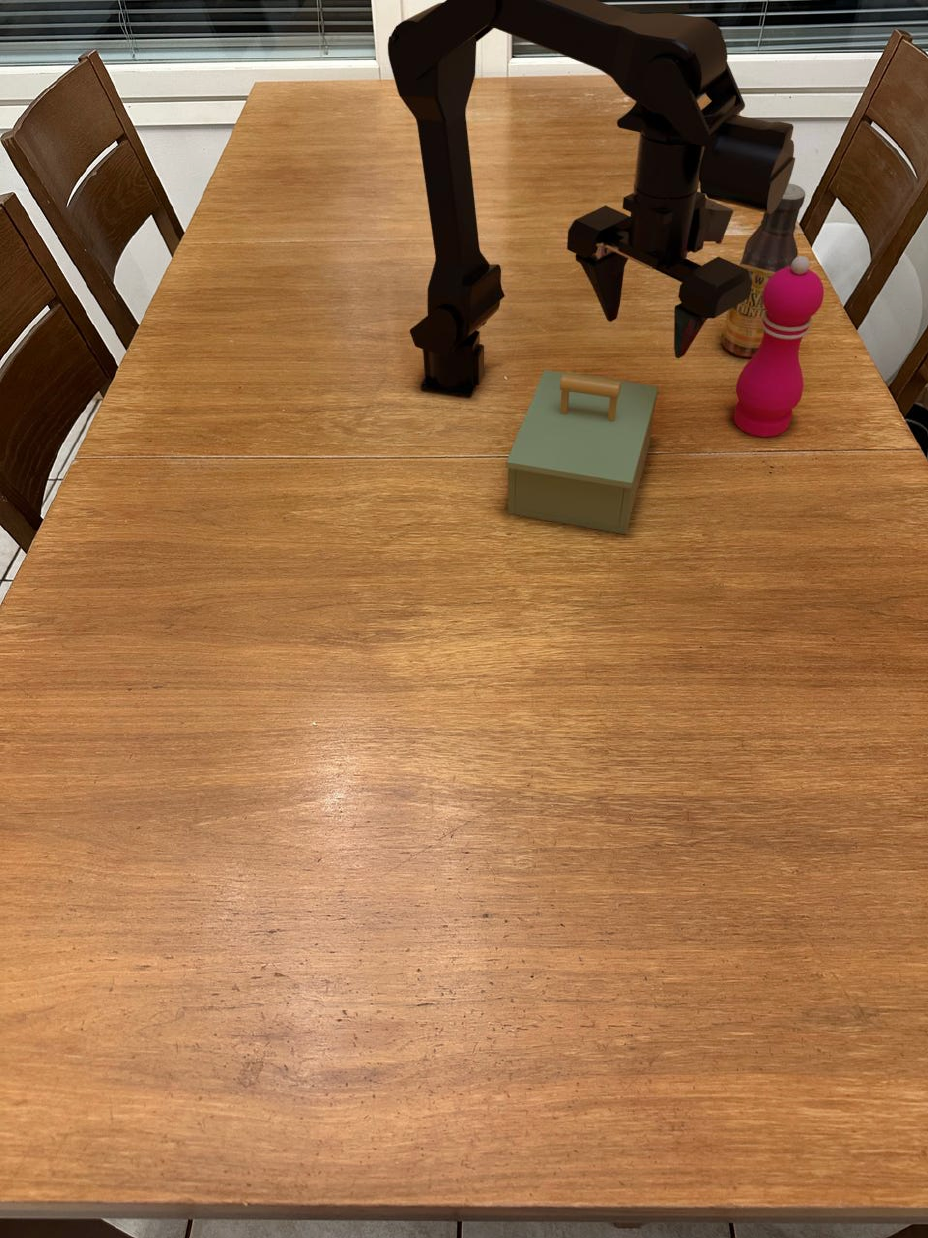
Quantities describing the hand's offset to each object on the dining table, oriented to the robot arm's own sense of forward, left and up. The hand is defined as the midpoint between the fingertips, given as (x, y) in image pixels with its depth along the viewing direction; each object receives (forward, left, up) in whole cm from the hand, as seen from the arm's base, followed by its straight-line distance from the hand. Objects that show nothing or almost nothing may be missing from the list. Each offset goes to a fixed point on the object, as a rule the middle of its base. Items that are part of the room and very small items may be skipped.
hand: (645, 337), depth 97 cm
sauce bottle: (+11, +23, -14) cm, 29 cm away
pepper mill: (+14, +8, -14) cm, 21 cm away
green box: (-4, -7, -14) cm, 16 cm away
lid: (-4, -7, -7) cm, 11 cm away
